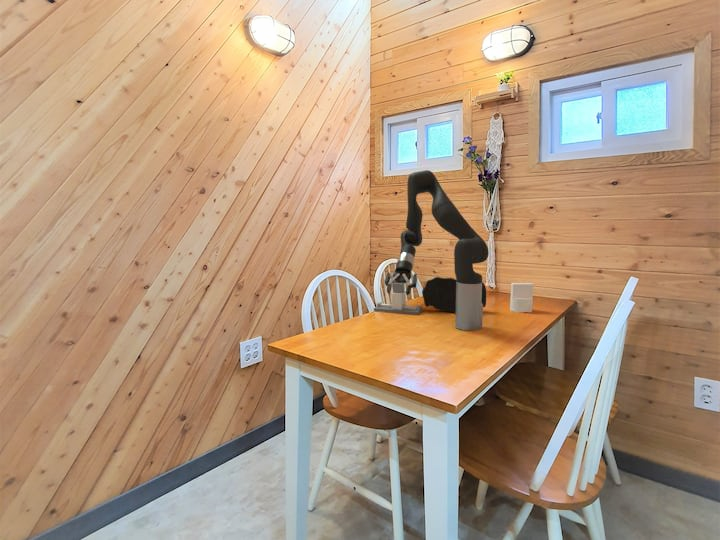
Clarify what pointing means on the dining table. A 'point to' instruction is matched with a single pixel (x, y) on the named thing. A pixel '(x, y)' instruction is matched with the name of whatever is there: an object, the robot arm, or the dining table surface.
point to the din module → (398, 296)
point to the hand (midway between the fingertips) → (397, 293)
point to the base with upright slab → (521, 297)
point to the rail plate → (405, 310)
